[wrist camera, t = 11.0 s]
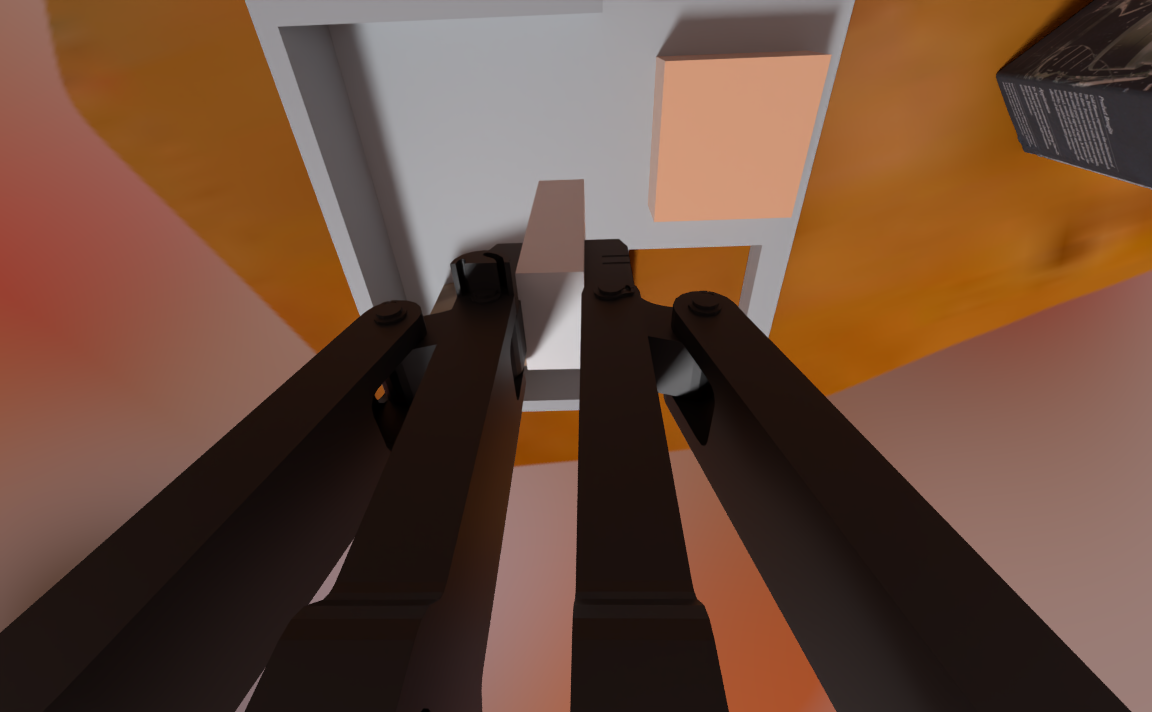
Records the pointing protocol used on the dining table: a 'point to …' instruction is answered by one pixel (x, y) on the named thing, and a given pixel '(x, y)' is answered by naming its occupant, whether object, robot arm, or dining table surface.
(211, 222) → the dining table surface
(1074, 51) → the box
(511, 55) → the cubby deck
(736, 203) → the terracotta tile
